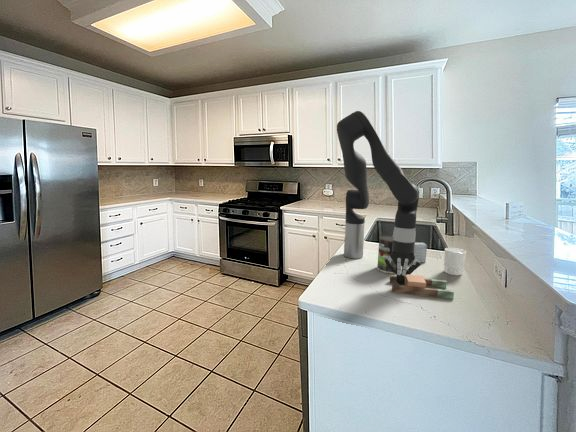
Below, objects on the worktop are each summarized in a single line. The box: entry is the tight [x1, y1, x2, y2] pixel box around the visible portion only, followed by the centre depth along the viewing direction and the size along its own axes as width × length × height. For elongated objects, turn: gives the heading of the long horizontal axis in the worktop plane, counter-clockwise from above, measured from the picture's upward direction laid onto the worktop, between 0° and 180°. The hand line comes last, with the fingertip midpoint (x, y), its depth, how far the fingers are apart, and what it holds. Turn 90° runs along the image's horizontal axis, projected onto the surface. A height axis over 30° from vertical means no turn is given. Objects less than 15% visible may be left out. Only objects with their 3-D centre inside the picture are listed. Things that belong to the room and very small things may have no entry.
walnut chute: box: [389, 275, 455, 300], centre depth 106 cm, size 20×10×2 cm, turn 75°
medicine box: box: [414, 242, 428, 263], centre depth 137 cm, size 8×4×9 cm, turn 84°
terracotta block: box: [404, 274, 427, 288], centre depth 106 cm, size 6×7×4 cm
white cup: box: [443, 247, 467, 276], centre depth 122 cm, size 8×8×10 cm
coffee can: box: [376, 235, 402, 275], centre depth 125 cm, size 10×10×14 cm
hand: (400, 283), depth 107 cm, fingers closed
